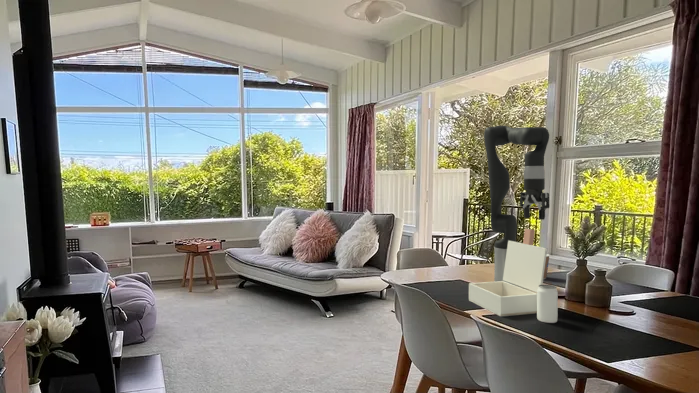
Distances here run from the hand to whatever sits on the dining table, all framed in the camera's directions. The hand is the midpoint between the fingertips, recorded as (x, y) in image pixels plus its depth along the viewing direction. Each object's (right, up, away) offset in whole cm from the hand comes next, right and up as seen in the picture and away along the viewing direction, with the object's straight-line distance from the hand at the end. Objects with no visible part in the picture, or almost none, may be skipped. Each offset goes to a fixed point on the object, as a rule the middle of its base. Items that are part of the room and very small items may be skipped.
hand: (534, 218), depth 166 cm
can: (-4, -35, -20) cm, 40 cm away
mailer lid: (-4, -15, -1) cm, 16 cm away
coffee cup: (+23, -33, +47) cm, 62 cm away
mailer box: (-14, -34, -3) cm, 37 cm away
